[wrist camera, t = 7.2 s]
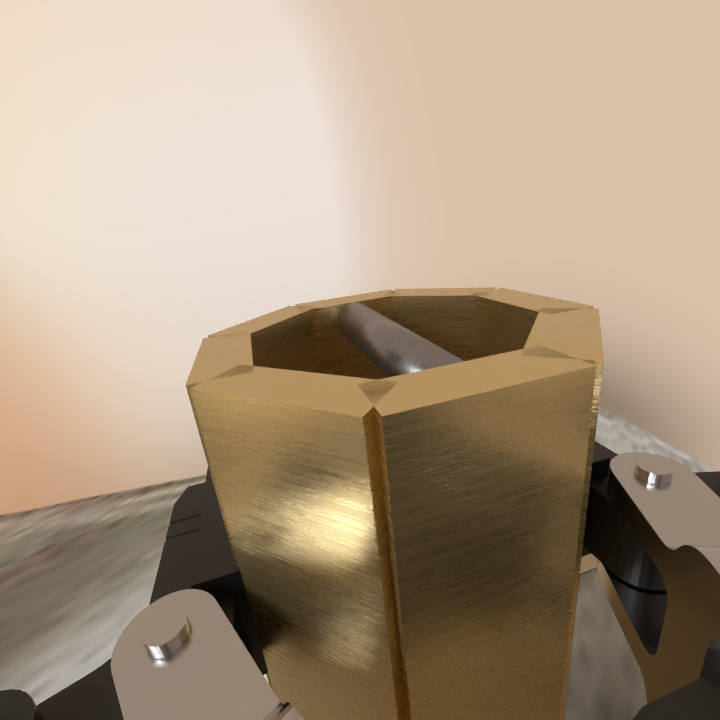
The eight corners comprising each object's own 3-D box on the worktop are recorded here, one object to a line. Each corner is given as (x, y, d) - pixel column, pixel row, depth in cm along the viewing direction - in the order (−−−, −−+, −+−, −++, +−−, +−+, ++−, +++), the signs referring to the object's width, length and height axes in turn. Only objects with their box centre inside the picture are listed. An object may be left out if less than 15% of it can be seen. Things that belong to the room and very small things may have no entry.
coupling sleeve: (327, 988, 6) (152, 470, 3) (288, 637, 12) (211, 317, 8) (623, 817, 8) (730, 333, 4) (464, 574, 13) (457, 279, 10)
